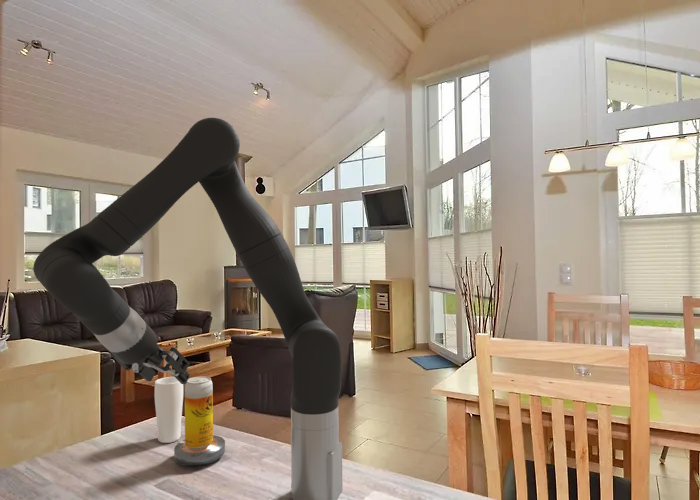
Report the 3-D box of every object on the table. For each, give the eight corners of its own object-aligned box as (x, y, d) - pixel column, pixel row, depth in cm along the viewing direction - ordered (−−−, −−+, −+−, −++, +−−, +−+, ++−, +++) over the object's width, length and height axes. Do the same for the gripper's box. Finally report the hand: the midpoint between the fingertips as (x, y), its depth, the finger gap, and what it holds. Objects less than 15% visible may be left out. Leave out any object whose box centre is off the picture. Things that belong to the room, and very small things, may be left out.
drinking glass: (189, 437, 110) (189, 378, 110) (165, 447, 105) (165, 385, 105) (172, 431, 114) (172, 374, 114) (149, 441, 108) (148, 381, 108)
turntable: (234, 446, 103) (234, 437, 103) (206, 468, 92) (206, 458, 92) (194, 440, 106) (194, 432, 106) (163, 461, 96) (163, 452, 96)
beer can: (204, 452, 95) (203, 384, 95) (179, 449, 97) (178, 382, 97) (218, 440, 101) (217, 376, 101) (194, 438, 103) (194, 375, 103)
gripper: (167, 318, 79) (206, 364, 90) (105, 315, 83) (149, 360, 94) (146, 353, 74) (189, 398, 85) (81, 349, 78) (131, 392, 89)
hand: (168, 378), depth 89 cm, fingers open, 8 cm apart
